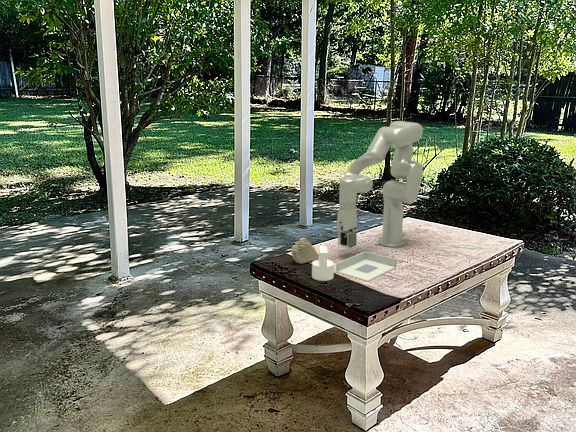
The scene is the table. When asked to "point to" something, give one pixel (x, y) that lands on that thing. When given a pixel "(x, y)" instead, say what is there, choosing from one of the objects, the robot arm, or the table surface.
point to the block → (349, 239)
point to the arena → (366, 266)
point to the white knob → (322, 266)
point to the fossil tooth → (304, 251)
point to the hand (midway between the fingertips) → (347, 243)
